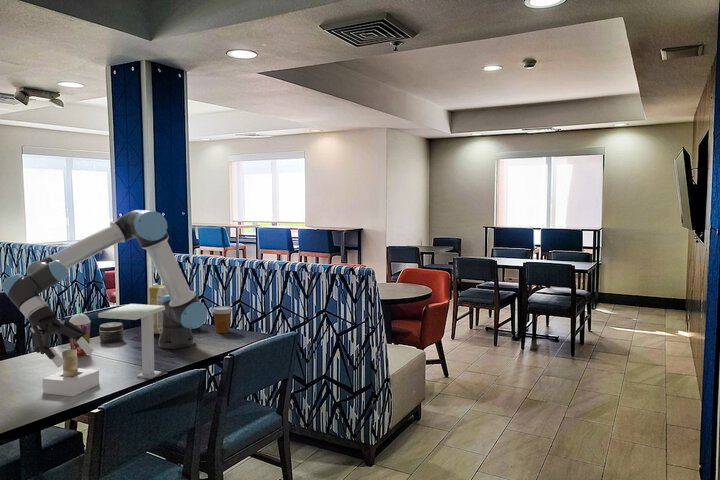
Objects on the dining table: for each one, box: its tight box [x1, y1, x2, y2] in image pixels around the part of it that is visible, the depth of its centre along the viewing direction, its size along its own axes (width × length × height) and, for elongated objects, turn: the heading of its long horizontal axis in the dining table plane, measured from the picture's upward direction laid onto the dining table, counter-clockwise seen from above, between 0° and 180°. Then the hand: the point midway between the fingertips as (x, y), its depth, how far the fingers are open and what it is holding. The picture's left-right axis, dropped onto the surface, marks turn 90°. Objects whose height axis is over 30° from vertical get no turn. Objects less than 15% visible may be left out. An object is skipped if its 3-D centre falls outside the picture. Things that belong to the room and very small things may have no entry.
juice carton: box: [147, 283, 169, 335], centre depth 254 cm, size 9×8×24 cm
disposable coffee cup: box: [211, 305, 233, 334], centre depth 257 cm, size 10×10×12 cm
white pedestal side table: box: [97, 303, 165, 380], centre depth 192 cm, size 17×18×24 cm
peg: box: [61, 348, 79, 378], centre depth 177 cm, size 4×4×12 cm
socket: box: [42, 367, 100, 397], centre depth 178 cm, size 12×12×5 cm
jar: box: [98, 322, 124, 344], centre depth 238 cm, size 10×10×8 cm
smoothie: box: [68, 306, 92, 357], centre depth 216 cm, size 8×8×20 cm
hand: (76, 358), depth 177 cm, fingers open, 13 cm apart
